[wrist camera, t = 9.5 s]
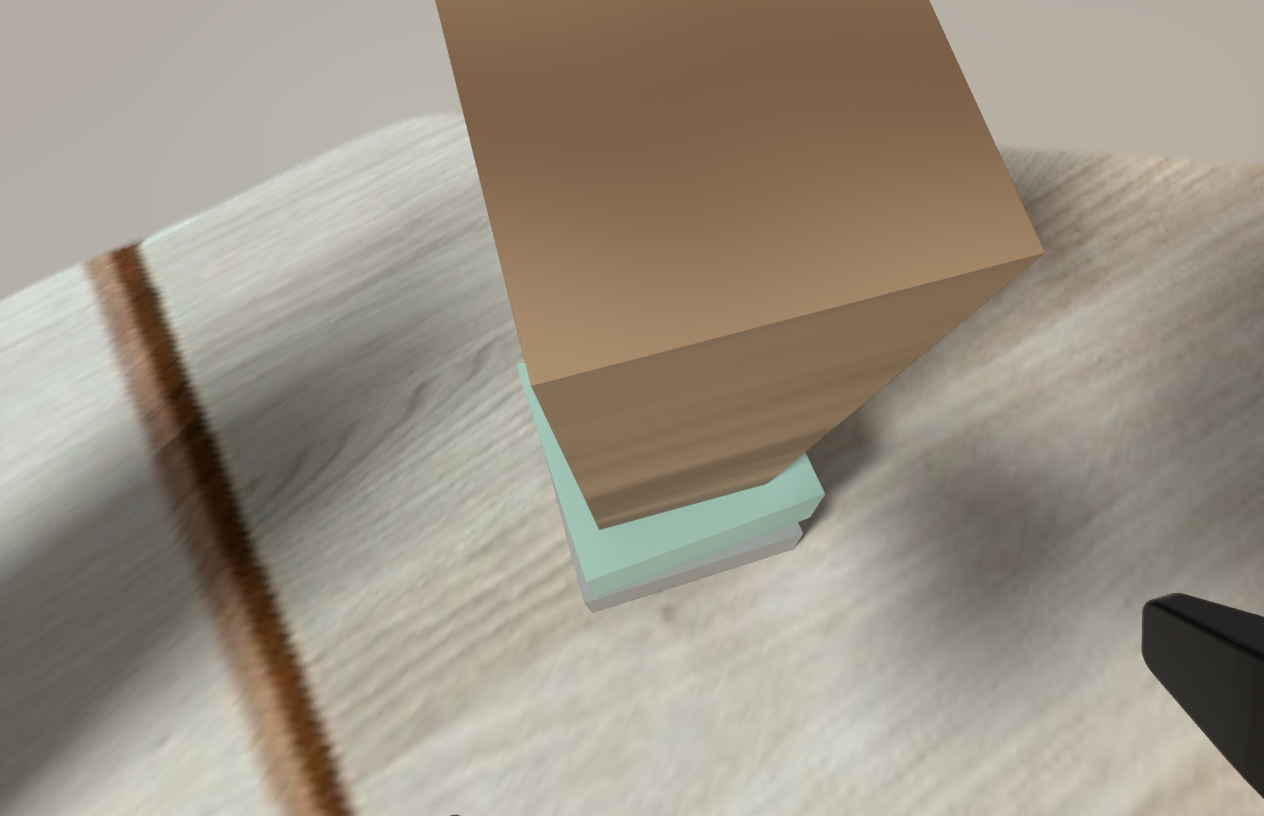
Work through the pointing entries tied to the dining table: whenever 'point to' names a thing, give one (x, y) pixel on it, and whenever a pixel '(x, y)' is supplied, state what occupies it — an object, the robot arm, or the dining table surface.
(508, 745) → the dining table surface
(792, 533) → the grey slab
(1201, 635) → the robot arm
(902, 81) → the walnut pillar block
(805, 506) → the teal slab
